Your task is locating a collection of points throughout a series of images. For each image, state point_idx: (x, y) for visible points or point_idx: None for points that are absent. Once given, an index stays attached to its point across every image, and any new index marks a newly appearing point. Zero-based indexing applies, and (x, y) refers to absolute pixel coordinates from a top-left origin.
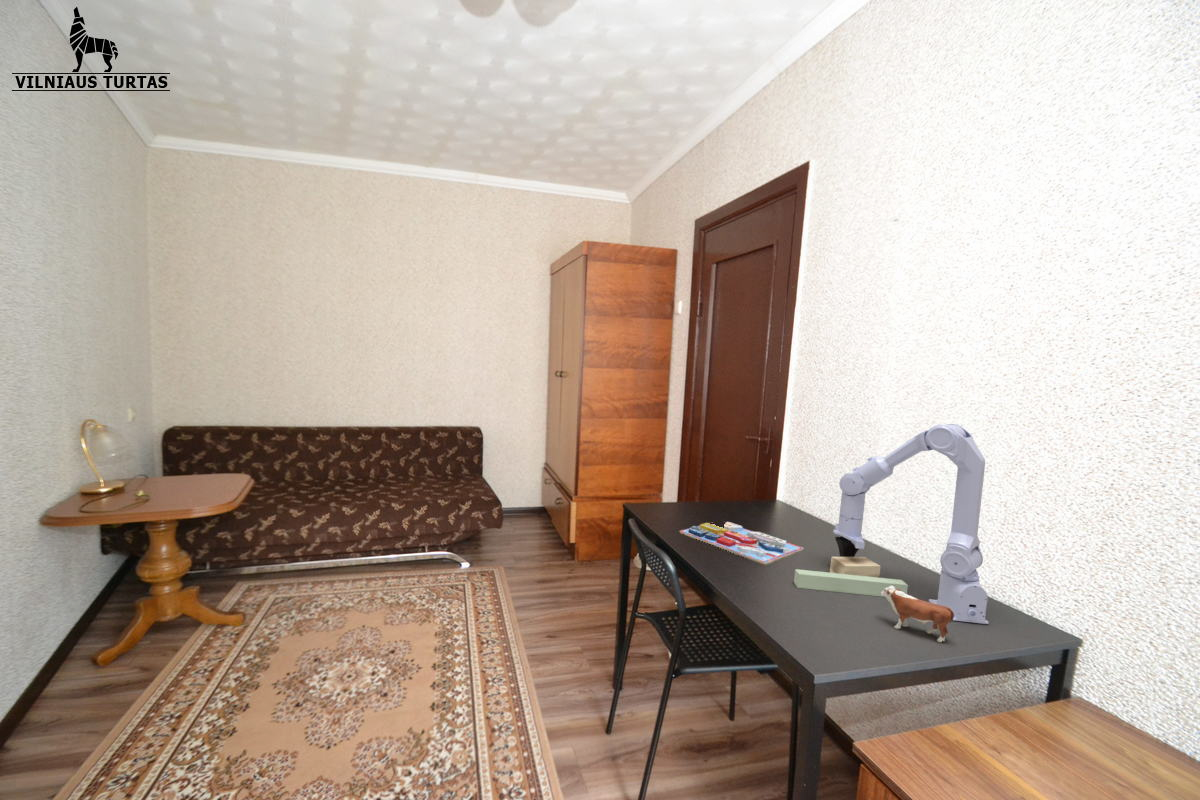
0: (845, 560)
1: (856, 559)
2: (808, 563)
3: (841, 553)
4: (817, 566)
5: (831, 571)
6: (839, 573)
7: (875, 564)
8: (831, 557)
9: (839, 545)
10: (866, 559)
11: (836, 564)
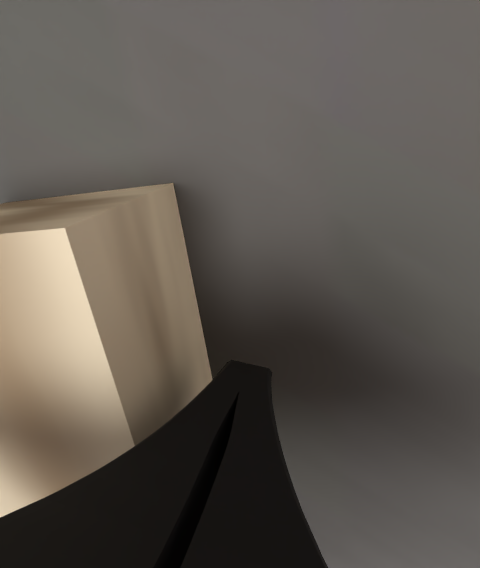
0: (1, 346)
1: (81, 475)
2: (456, 77)
3: (202, 431)
4: (362, 156)
5: (131, 191)
6: (9, 209)
7: None
8: (69, 225)
9: (203, 519)
10: None
11: (6, 221)
